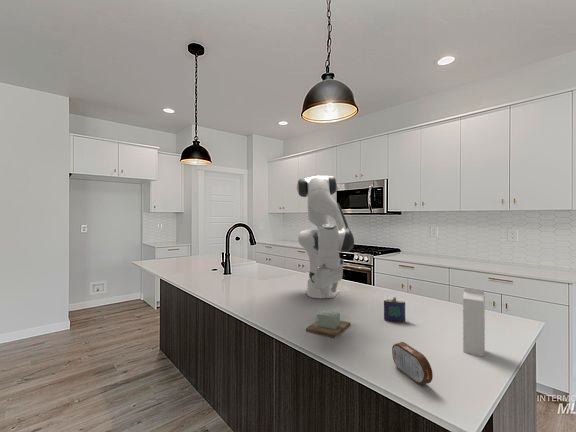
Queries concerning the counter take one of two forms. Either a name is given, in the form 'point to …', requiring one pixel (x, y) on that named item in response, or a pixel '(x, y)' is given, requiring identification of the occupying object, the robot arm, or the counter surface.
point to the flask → (394, 310)
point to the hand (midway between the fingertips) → (329, 294)
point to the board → (328, 329)
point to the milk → (474, 321)
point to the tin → (412, 363)
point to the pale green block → (328, 319)
